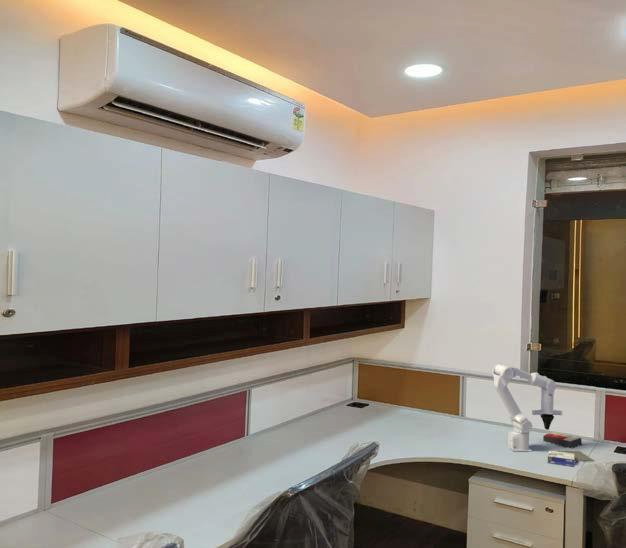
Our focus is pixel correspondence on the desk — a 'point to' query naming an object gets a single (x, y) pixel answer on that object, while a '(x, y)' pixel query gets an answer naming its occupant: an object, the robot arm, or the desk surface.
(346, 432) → the desk surface
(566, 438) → the red and black box
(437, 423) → the desk surface
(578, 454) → the desk mat
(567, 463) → the ink box
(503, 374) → the robot arm
